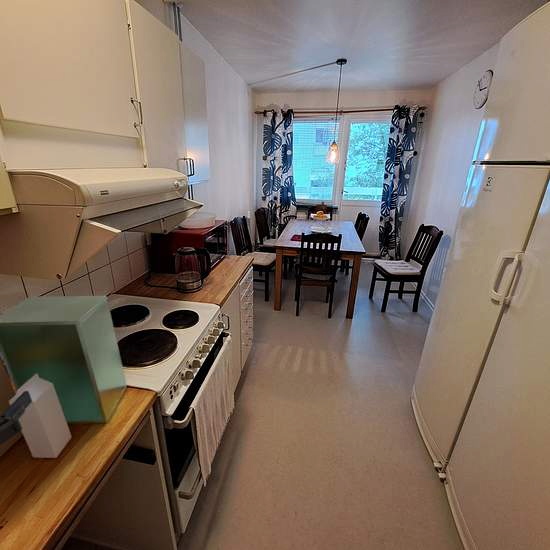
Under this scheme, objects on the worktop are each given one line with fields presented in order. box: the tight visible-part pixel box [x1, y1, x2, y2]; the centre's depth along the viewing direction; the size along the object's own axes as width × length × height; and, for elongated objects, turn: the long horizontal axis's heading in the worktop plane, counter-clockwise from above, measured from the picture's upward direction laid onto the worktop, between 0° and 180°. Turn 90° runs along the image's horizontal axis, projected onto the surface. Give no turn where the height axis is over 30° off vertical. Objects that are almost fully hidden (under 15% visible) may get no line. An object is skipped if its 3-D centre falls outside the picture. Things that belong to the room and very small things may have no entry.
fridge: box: [0, 295, 128, 425], centre depth 82 cm, size 14×21×34 cm, turn 94°
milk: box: [9, 374, 72, 459], centre depth 71 cm, size 6×6×22 cm
